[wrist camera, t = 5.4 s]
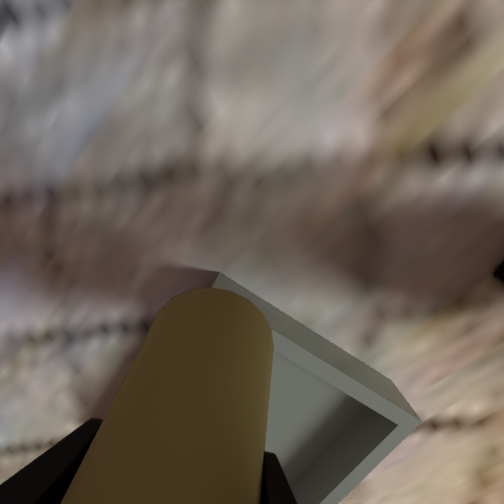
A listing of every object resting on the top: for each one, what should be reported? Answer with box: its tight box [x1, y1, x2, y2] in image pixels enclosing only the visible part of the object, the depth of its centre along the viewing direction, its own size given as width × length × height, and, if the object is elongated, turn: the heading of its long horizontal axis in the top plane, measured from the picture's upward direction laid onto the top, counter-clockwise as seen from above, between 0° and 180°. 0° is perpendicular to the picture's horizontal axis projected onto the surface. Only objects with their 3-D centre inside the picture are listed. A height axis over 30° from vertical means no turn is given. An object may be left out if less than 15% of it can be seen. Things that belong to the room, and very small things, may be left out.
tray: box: [210, 272, 422, 504], centre depth 20 cm, size 18×18×4 cm
